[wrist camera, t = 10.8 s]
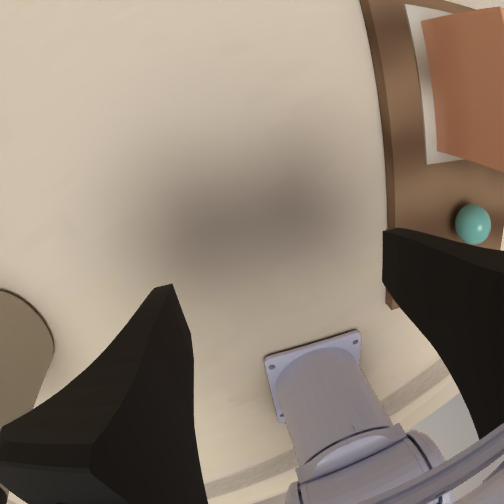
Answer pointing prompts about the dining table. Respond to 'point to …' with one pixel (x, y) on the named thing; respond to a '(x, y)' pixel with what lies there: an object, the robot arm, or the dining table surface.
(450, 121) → the terracotta cover
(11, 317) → the travel mug
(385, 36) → the walnut board
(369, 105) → the dining table surface
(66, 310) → the dining table surface
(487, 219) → the teal marble
